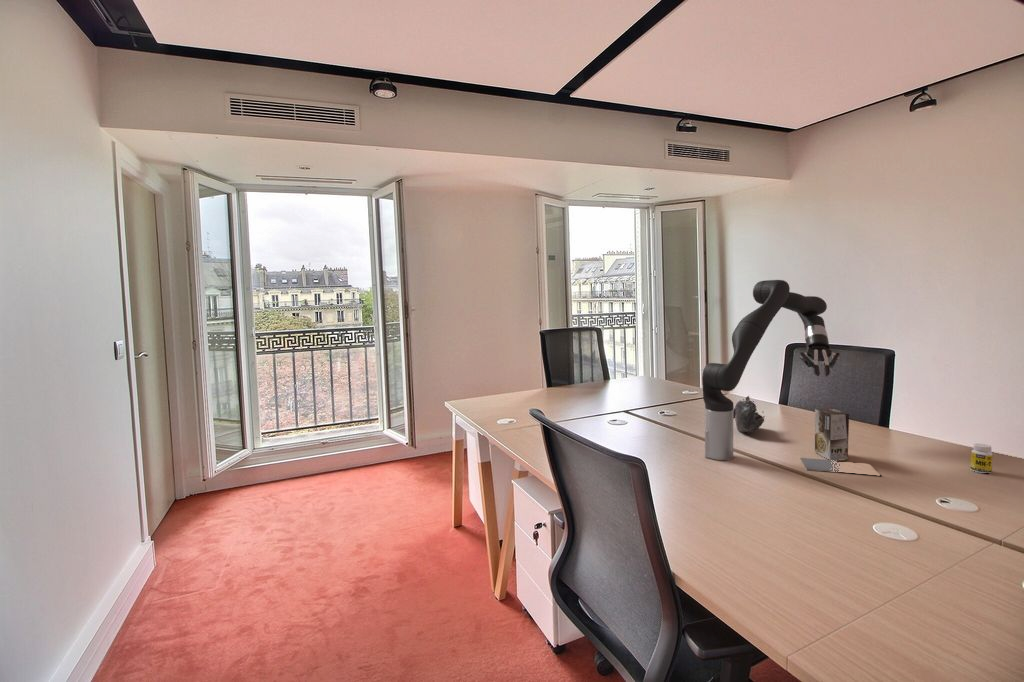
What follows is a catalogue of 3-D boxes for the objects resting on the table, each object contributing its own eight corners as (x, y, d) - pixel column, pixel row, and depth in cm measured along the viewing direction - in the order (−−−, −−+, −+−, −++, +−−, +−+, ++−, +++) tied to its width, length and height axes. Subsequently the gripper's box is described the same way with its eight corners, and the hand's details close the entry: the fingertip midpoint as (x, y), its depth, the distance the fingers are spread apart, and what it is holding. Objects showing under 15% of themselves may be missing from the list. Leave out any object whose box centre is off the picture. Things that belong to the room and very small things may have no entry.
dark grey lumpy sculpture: (726, 423, 213) (729, 439, 194) (730, 391, 210) (733, 403, 191) (761, 428, 208) (768, 445, 189) (766, 395, 205) (773, 408, 187)
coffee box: (848, 460, 165) (850, 413, 164) (829, 461, 165) (830, 414, 164) (831, 451, 174) (833, 407, 173) (813, 452, 175) (814, 408, 173)
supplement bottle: (973, 473, 151) (974, 446, 150) (968, 468, 155) (969, 442, 154) (994, 475, 149) (995, 448, 148) (988, 470, 153) (989, 443, 152)
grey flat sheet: (806, 470, 158) (806, 469, 158) (800, 458, 169) (800, 457, 169) (881, 476, 151) (881, 475, 150) (870, 464, 161) (870, 463, 161)
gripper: (797, 333, 192) (802, 368, 182) (839, 333, 187) (846, 369, 177) (795, 345, 198) (799, 380, 187) (835, 345, 192) (842, 381, 182)
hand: (822, 375), depth 182 cm, fingers closed
